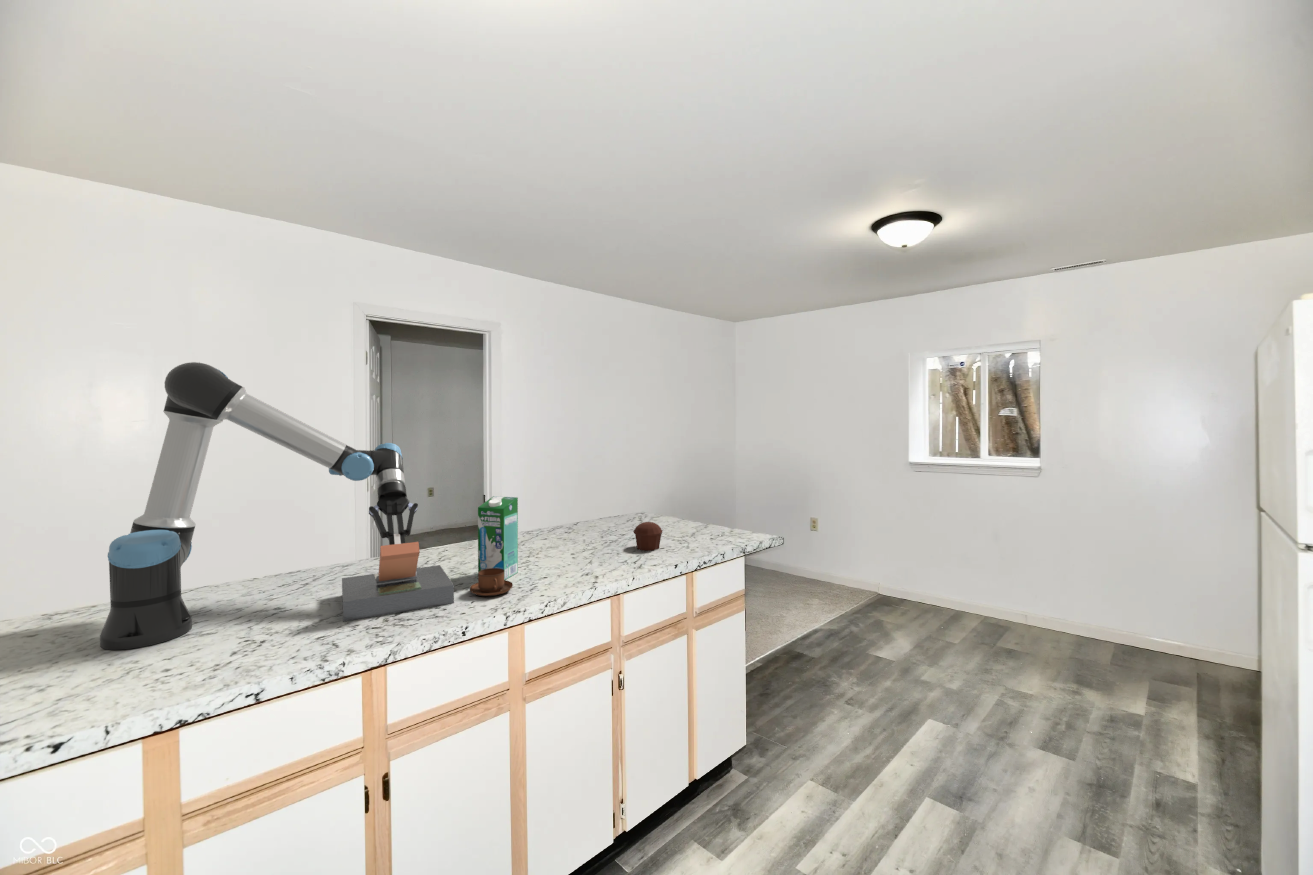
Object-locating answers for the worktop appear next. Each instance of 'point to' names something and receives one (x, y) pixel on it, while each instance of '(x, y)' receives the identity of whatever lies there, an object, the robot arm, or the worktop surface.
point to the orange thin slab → (398, 562)
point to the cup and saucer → (491, 583)
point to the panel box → (395, 593)
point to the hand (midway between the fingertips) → (398, 557)
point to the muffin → (648, 536)
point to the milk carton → (498, 535)
